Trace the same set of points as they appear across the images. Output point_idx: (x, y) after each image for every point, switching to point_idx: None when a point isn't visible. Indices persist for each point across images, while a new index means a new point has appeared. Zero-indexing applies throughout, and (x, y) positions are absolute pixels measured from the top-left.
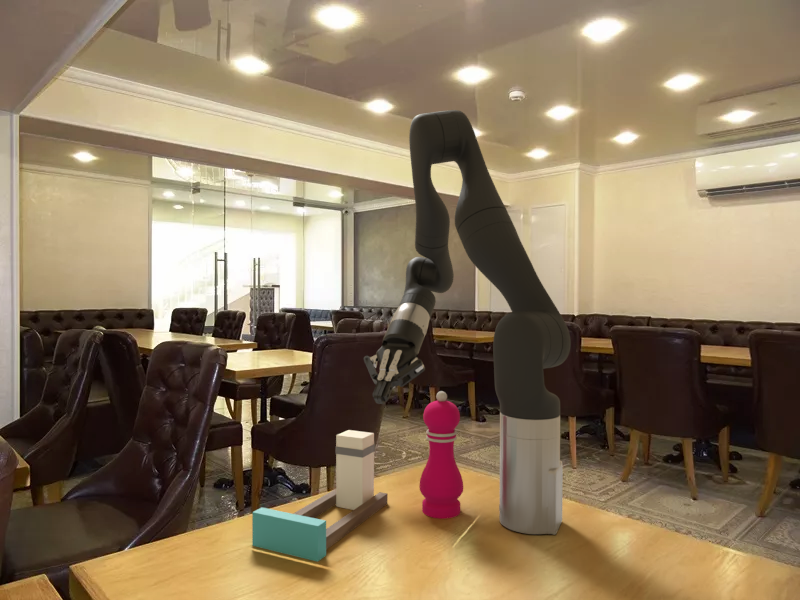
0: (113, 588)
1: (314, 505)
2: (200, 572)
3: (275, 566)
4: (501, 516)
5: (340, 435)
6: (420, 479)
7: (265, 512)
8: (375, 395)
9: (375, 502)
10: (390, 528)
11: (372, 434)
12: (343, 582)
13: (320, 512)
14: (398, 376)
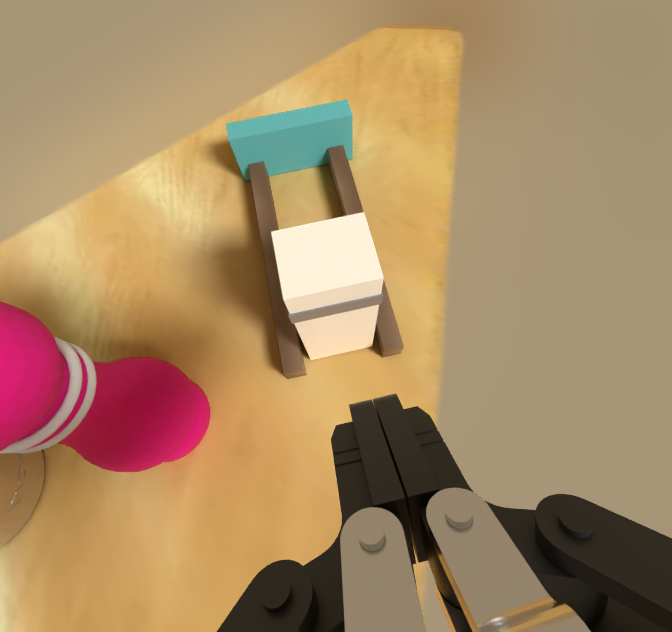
0: (382, 33)
1: None
2: (342, 86)
3: None
4: None
5: (350, 215)
6: (175, 374)
7: (330, 108)
8: (386, 397)
9: (274, 320)
10: (220, 299)
11: (282, 291)
12: (187, 157)
13: None
14: (267, 585)
